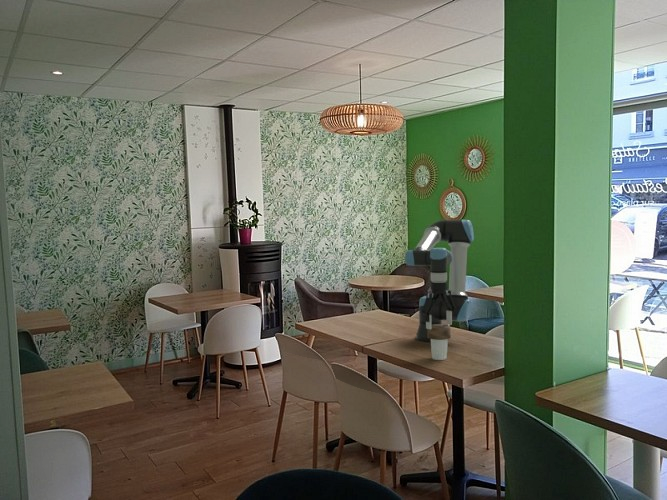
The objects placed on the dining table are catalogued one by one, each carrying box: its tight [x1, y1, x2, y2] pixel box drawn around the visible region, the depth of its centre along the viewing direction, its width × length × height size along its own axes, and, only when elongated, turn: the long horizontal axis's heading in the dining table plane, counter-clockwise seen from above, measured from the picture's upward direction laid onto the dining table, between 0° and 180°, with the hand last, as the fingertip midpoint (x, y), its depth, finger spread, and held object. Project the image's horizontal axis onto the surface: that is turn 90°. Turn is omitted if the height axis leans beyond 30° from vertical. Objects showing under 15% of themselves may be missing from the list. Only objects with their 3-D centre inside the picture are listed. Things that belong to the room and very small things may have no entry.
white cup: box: [430, 339, 449, 361], centre depth 258 cm, size 8×8×10 cm
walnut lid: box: [428, 323, 452, 340], centre depth 257 cm, size 10×10×5 cm
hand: (439, 326), depth 257 cm, fingers open, 13 cm apart
